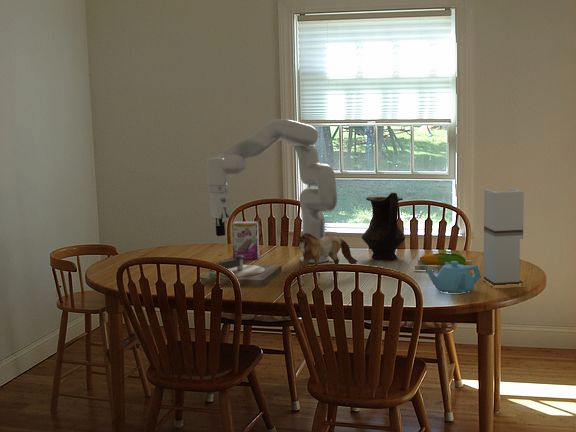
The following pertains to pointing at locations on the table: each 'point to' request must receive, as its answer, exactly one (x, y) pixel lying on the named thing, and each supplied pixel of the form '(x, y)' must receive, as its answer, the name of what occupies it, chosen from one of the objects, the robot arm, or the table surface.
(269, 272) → the tuner base
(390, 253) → the jug
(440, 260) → the corn
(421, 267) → the corn rest
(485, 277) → the white rectangular tower
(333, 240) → the horse figurine
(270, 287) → the table surface
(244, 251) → the candy bar box
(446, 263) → the teapot
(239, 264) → the lever with ball knob
